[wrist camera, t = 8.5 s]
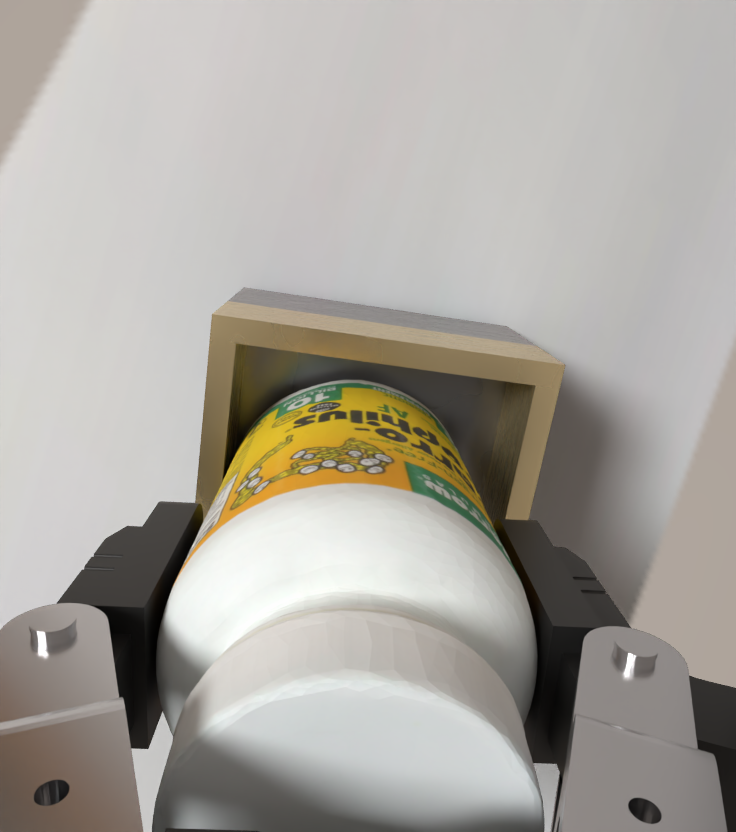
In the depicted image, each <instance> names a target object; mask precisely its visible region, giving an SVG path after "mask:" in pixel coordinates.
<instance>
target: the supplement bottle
mask: <svg viewBox="0 0 736 832" xmlns="http://www.w3.org/2000/svg"><path fill="white" fill-rule="evenodd" d="M537 659H538V653H537V641H536V633H535V626H534V622H533V618H532V614H531V611H530V607H529V604H528V601H527V598H526V594H525V590H524V588H523V585H522V582H521V580H520V578H519V576H518V574H517V572H516V570H515V568H514V567H513V565H512V563H511V561H510V558H509V556H508V555H507V553H506V551H505V549H504V547H503V545H502V543H501V541H500V540H499V538H498V536H497V534H496V532H495V530H494V527H493V525H492V523H491V520H490V518H489V517H488V515H487V512H486V510H485V508H484V506H483V503H482V501H481V498H480V495H479V494H478V493H477V491H476V489H475V486H474V484H473V482H472V480H471V477H470V475H469V473H468V471H467V469H466V467H465V465H464V463H463V461H462V459H461V457H460V454H459V452H458V450H457V448H456V447H455V445H454V443H453V441H452V439H451V437H450V436H449V434H448V432H447V431H446V429H445V428H444V426H443V425H442V424H441V422H440V421H439V420H438V418H437V417H436V416H435V415H434V414H433V413H432V412H431V411H430V410H429V409H428V408H427V407H426V406H424V405H423V404H422V403H420V402H419V401H417V400H416V399H414V398H412V397H411V396H409V395H407V394H405V393H403V392H401V391H399V390H397V389H395V388H392V387H389V386H386V385H383V384H379V383H375V382H370V381H365V380H338V381H331V382H327V383H323V384H319V385H315V386H312V387H309V388H306V389H302V390H299V391H297V392H295V393H292V394H290V395H288V396H286V397H284V398H282V399H281V400H279V401H278V402H276V403H275V404H273V405H272V406H271V407H269V408H268V409H267V410H266V411H265V412H264V413H263V414H262V415H261V416H260V417H259V418H258V419H257V420H256V421H255V422H254V423H253V425H252V426H251V427H250V429H249V430H248V432H247V433H246V435H245V437H244V438H243V440H242V442H241V444H240V445H239V447H238V449H237V451H236V454H235V456H234V458H233V461H232V463H231V465H230V467H229V469H228V471H227V473H226V475H225V478H224V480H223V482H222V484H221V486H220V488H219V490H218V493H217V495H216V497H215V499H214V501H213V503H212V505H211V507H210V509H209V511H208V513H207V515H206V517H205V520H204V522H203V524H202V526H201V528H200V530H199V532H198V535H197V537H196V539H195V541H194V543H193V545H192V547H191V549H190V551H189V554H188V556H187V558H186V560H185V562H184V564H183V566H182V568H181V570H180V572H179V574H178V576H177V579H176V581H175V583H174V585H173V588H172V590H171V593H170V596H169V598H168V601H167V604H166V607H165V610H164V613H163V617H162V620H161V624H160V628H159V633H158V639H157V649H156V677H157V686H158V693H159V697H160V702H161V706H162V709H163V713H164V715H165V718H166V720H167V723H168V725H169V728H170V731H171V733H172V735H173V743H172V746H171V749H170V753H169V756H168V759H167V763H166V766H165V769H164V773H163V776H162V780H161V783H160V787H159V791H158V794H157V798H156V802H155V808H154V815H153V824H152V832H165V829H166V828H179V829H214V830H250V831H259V832H544V810H543V800H542V796H541V792H540V788H539V783H538V779H537V775H536V772H535V768H534V765H533V761H532V758H531V755H530V751H529V748H528V744H527V741H526V737H525V731H524V726H523V725H524V723H525V720H526V718H527V715H528V712H529V710H530V707H531V703H532V699H533V695H534V690H535V685H536V678H537Z"/></svg>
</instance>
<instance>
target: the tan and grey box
mask: <svg viewBox="0 0 736 832" xmlns="http://www.w3.org/2000/svg"><path fill="white" fill-rule="evenodd" d="M564 369H565V364H563V363H562V362H560V361H559V360H557V359H556V358H554V357H552V356H551V355H549V354H548V353H546V352H545V351H543V350H542V349H540V348H539V347H537V346H536V345H534V344H533V343H531V342H530V341H528V340H527V339H525V338H524V337H522V336H521V335H519V334H518V333H516V332H515V331H513V330H512V329H510V328H509V327H507V326H500V325H494V324H487V323H480V322H473V321H467V320H460V319H453V318H446V317H440V316H433V315H426V314H419V313H413V312H406V311H399V310H392V309H386V308H379V307H372V306H365V305H359V304H352V303H345V302H338V301H332V300H325V299H318V298H311V297H305V296H298V295H291V294H284V293H278V292H271V291H264V290H257V289H251V288H243V289H242V290H241V291H239V292H238V293H237V294H236V295H235V296H233V297H232V298H231V299H230V300H229V301H227V302H226V303H225V304H224V305H223V306H221V307H220V308H219V309H218V310H216V311H215V312H214V313H213V314H212V321H211V333H210V344H209V355H208V366H207V378H206V389H205V400H204V411H203V423H202V434H201V445H200V456H199V468H198V479H197V490H196V501H195V503H200V504H201V505H202V508H203V522H204V520H205V517H206V515H207V513H208V511H209V509H210V507H211V505H212V503H213V501H214V499H215V497H216V495H217V493H218V490H219V488H220V486H221V484H222V482H223V480H224V478H225V475H226V473H227V471H228V469H229V467H230V465H231V463H232V461H233V458H234V456H235V454H236V451H237V449H238V447H239V445H240V444H241V442H242V440H243V438H244V437H245V435H246V433H247V432H248V430H249V429H250V427H251V426H252V425H253V423H254V422H255V421H256V420H257V419H258V418H259V417H260V416H261V415H262V414H263V413H264V412H265V411H266V410H267V409H268V408H269V407H271V406H272V405H273V404H275V403H276V402H278V401H279V400H281V399H282V398H284V397H286V396H288V395H290V394H292V393H295V392H297V391H299V390H302V389H306V388H309V387H312V386H315V385H319V384H323V383H327V382H331V381H338V380H365V381H370V382H375V383H379V384H383V385H386V386H389V387H392V388H395V389H397V390H399V391H401V392H403V393H405V394H407V395H409V396H411V397H412V398H414V399H416V400H417V401H419V402H420V403H422V404H423V405H424V406H426V407H427V408H428V409H429V410H430V411H431V412H432V413H433V414H434V415H435V416H436V417H437V418H438V420H439V421H440V422H441V424H442V425H443V426H444V428H445V429H446V431H447V432H448V434H449V436H450V437H451V439H452V441H453V443H454V445H455V447H456V448H457V450H458V452H459V454H460V457H461V459H462V461H463V463H464V465H465V467H466V469H467V471H468V473H469V475H470V477H471V480H472V482H473V484H474V486H475V489H476V491H477V493H478V494H479V495H480V498H481V501H482V503H483V506H484V508H485V510H486V512H487V515H488V517H489V518H490V520H491V523H492V525H493V526H494V523H495V521H496V519H513V520H528V519H529V515H530V511H531V507H532V502H533V498H534V494H535V490H536V486H537V481H538V477H539V473H540V469H541V465H542V461H543V456H544V452H545V448H546V444H547V440H548V435H549V431H550V427H551V423H552V419H553V415H554V410H555V406H556V402H557V398H558V394H559V390H560V385H561V381H562V377H563V373H564Z"/></svg>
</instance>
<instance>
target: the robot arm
mask: <svg viewBox="0 0 736 832" xmlns="http://www.w3.org/2000/svg"><path fill="white" fill-rule="evenodd" d="M202 524H203V508H202V505H201V504H200V503H182V502H162V501H160V502H159V503H158V504H157V506H156V507H155V509H154V510H153V512H152V513H151V515H150V516H149V518H148V519H147V521H146V522H145V524H144V525H143V527H137V526H127V527H125V528H123V529H121V530H120V531H118V532H116V533H114V534H113V535H111V536H109V537H108V538H106V539H105V540H104V541H103V543H102V544H101V545H100V547H99V548H98V549H97V551H96V552H95V553H94V557H91V559H90V560H89V561H88V563H87V564H86V565H85V567H84V570H82V571H81V572H80V573H79V575H78V576H77V577H76V579H75V580H74V581H73V582H72V584H71V585H70V586H69V588H68V589H67V590H66V592H65V593H64V594H63V596H62V597H61V598H60V600H59V601H58V602H57V604H52V605H47V606H43V607H39V608H35V609H33V610H30V611H27V612H25V613H23V614H21V615H19V616H17V617H15V618H14V619H12V620H11V621H9V622H8V623H7V624H6V625H4V627H3V628H2V629H1V630H0V832H143V826H142V819H141V812H140V805H139V799H138V792H137V785H136V778H135V772H134V765H133V758H132V751H131V748H137V749H148V748H149V745H150V743H151V740H152V738H153V735H154V732H155V730H156V727H157V724H158V722H159V719H160V716H161V714H162V711H163V709H162V706H161V702H160V697H159V693H158V686H157V677H156V649H157V639H158V633H159V628H160V624H161V620H162V617H163V613H164V610H165V607H166V604H167V601H168V598H169V596H170V593H171V590H172V588H173V585H174V583H175V581H176V579H177V576H178V574H179V572H180V570H181V568H182V566H183V564H184V562H185V560H186V558H187V556H188V554H189V551H190V549H191V547H192V545H193V543H194V541H195V539H196V537H197V535H198V532H199V530H200V528H201V526H202ZM493 527H494V530H495V532H496V534H497V536H498V538H499V540H500V541H501V543H502V545H503V547H504V549H505V551H506V553H507V555H508V556H509V558H510V561H511V563H512V565H513V567H514V568H515V570H516V572H517V574H518V576H519V578H520V580H521V582H522V585H523V588H524V590H525V594H526V598H527V601H528V604H529V607H530V611H531V614H532V618H533V622H534V626H535V633H536V641H537V653H538V659H537V678H536V685H535V690H534V695H533V699H532V703H531V707H530V710H529V712H528V715H527V718H526V720H525V723H524V725H523V726H524V731H525V737H526V741H527V744H528V748H529V751H530V755H531V758H532V761H533V763H549V764H557V766H558V769H559V771H560V774H559V780H558V786H557V791H556V797H555V804H554V811H553V818H552V825H551V832H736V688H733V687H730V686H725V685H721V684H717V683H713V682H709V681H705V680H701V679H698V678H694V677H692V676H689V673H688V667H687V663H686V662H685V660H684V658H683V657H682V656H681V654H680V653H679V652H678V651H677V650H676V649H674V648H673V647H672V646H671V645H669V644H668V643H666V642H664V641H663V640H661V639H659V638H657V637H655V636H653V635H651V634H648V633H645V632H643V631H639V630H636V629H632V628H631V627H630V626H629V624H628V623H627V621H626V620H625V618H624V617H623V616H622V614H621V613H620V611H619V610H618V608H617V607H616V605H615V604H614V602H613V601H612V600H611V598H610V597H609V595H608V594H606V593H605V589H604V588H603V587H602V585H601V584H600V582H599V581H597V580H596V576H595V575H594V573H593V572H592V571H591V569H590V568H589V566H588V565H587V563H586V562H585V561H584V560H582V559H581V558H579V557H578V556H576V555H575V554H573V553H572V552H571V551H569V550H568V549H566V548H562V547H553V545H552V544H551V542H550V540H549V539H548V537H547V536H546V534H545V532H544V531H543V529H542V528H541V526H540V524H539V523H538V522H537V521H533V520H513V519H496V521H495V523H494V526H493ZM165 832H259V831H250V830H214V829H179V828H166V829H165Z"/></svg>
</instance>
